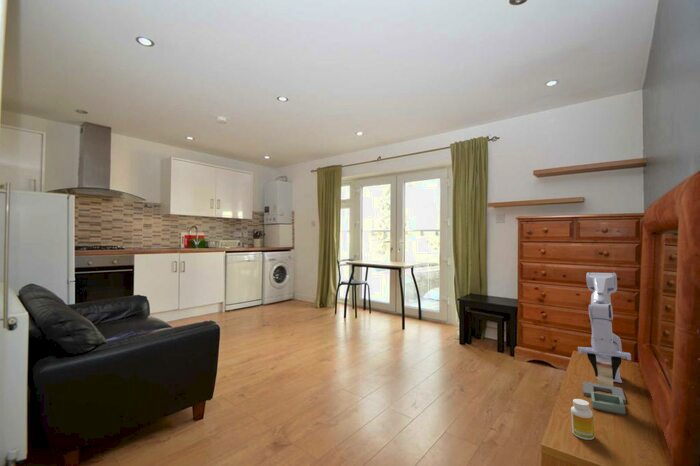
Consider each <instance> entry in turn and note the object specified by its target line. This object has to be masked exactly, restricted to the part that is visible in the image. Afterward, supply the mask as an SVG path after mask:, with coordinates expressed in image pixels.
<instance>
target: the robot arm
mask: <svg viewBox="0 0 700 466" xmlns="http://www.w3.org/2000/svg"><path fill="white" fill-rule="evenodd" d="M585 277H586V278H585V279H586V281H585V282H586V286H587V288H588V290H589V291H590V292H592V293H591V296H590V303H589V304H588V316H589V320H590V325H591V339H590V345H591V347H590V346H589V347H587V346H586V347H585V346H577V354H580V355H582V354H584V355H587V359H588V361H589V362H590V364H591V366H592V368H593V372H594V375H595V377H596V379H597V380H598V371H597V361H600V362H607V363H611V365H612V374H613V383H620V384H623V380H622V377H621V375H620V366H621V363H622V359H623V360H627V361H632V354H631V353H630V352H625V351H623V349H622V348H623V347H622V342H621V341H622V340H621V337H620V336H618V335H616V333H614V332H613V325H612V323H613V322H612V321H613V319H614V316H613V314H614V313H613V305H612V303H611V302H612V300H611V299H612V298H611V295H612V294H613V293H616V292H617V291H618V278H617V277H618V276H617V274H616V272H587V273H586V275H585Z"/></svg>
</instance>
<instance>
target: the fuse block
mask: <svg viewBox="0 0 700 466" xmlns="http://www.w3.org/2000/svg"><path fill="white" fill-rule="evenodd" d="M597 371H598V379H597V384H599V385H602V386H607V387H614V382H613V374H612V365H611V363H607V362H600V361H597Z"/></svg>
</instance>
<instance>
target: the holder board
mask: <svg viewBox="0 0 700 466" xmlns="http://www.w3.org/2000/svg"><path fill="white" fill-rule="evenodd" d="M595 390H596V391H601V392H605V393H611V395H614V396H620V397H622V400H623V403H624V404H627V401H626V397H625V394H624V390H623V387H618V386H613V387H607V386H602V385H599V384H598V383H595V382H588V381H584V380H583V381H582V392H583V396H584V397H590V398H591V391H592V392H595Z"/></svg>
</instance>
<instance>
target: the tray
mask: <svg viewBox="0 0 700 466" xmlns="http://www.w3.org/2000/svg"><path fill="white" fill-rule="evenodd" d="M590 399H591V407H592V409H594V410H597V411H602V412H607V413H612V414H615V415H616V414H617V415H621V416H626V407H625V403H623V400H622V397H620V396H614V395H612V394H608V393H602V392H597V391H594V392H592V391H591V397H590Z"/></svg>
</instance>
